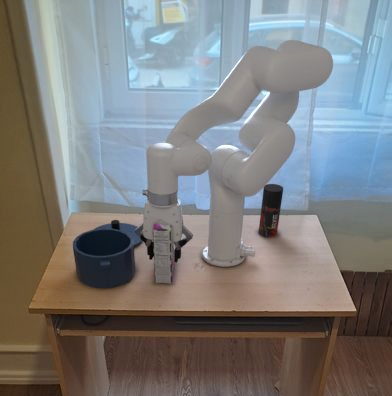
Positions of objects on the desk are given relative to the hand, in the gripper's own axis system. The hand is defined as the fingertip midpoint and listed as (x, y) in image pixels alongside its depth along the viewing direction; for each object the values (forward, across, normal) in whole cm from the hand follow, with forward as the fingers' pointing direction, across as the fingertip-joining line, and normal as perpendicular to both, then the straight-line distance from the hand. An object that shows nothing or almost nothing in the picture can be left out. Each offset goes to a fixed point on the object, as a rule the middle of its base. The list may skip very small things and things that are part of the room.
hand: (164, 258), depth 137 cm
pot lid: (+4, -19, +17) cm, 26 cm away
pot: (+5, -16, -3) cm, 17 cm away
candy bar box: (+5, 0, 0) cm, 5 cm away
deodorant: (+5, +27, +31) cm, 41 cm away
